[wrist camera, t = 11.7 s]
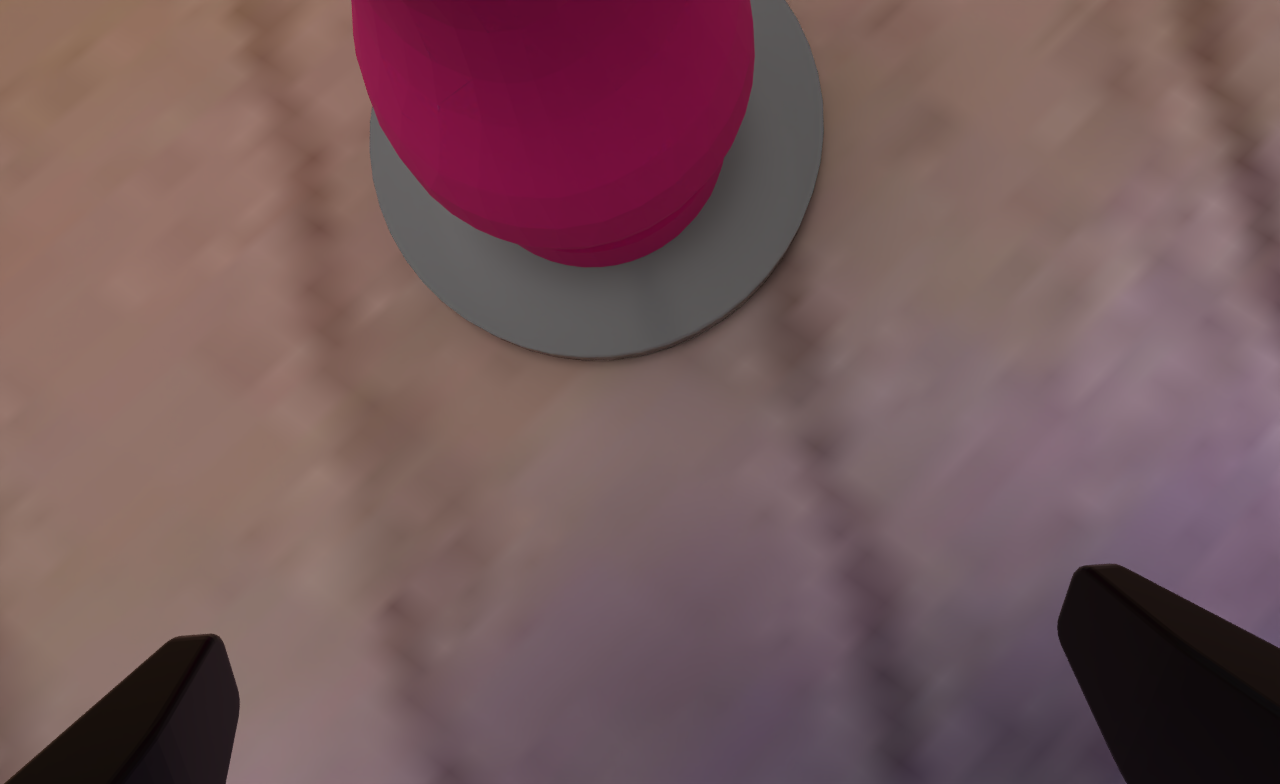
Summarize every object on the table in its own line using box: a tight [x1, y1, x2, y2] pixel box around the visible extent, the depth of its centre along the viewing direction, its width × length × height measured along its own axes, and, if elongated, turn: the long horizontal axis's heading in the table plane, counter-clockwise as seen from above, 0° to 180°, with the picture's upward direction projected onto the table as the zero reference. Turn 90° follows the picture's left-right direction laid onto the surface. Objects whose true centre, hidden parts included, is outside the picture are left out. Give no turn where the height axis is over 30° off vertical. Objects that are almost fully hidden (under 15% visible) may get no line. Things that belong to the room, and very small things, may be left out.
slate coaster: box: [370, 0, 824, 361], centre depth 21 cm, size 11×11×1 cm
